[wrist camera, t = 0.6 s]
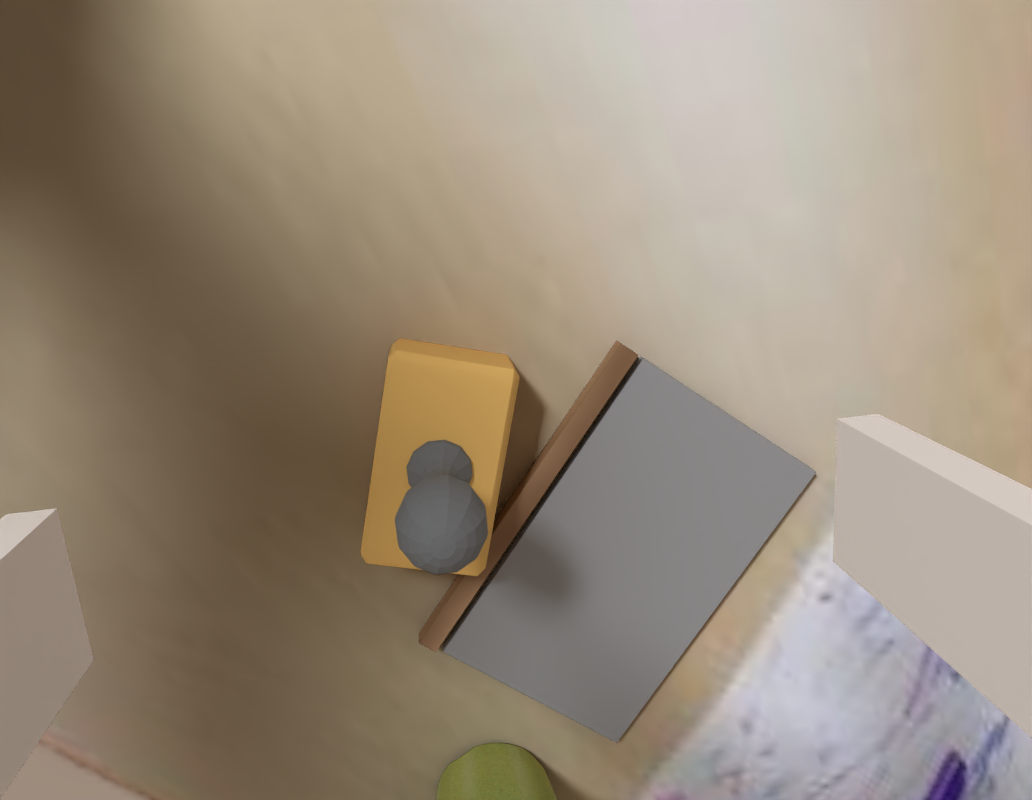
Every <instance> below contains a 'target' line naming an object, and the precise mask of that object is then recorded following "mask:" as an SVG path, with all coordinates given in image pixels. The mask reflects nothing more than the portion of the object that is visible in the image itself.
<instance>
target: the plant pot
mask: <svg viewBox="0 0 1032 800" xmlns="http://www.w3.org/2000/svg"><path fill="white" fill-rule="evenodd" d="M436 800H557V798H556V795H555V793H554V791H553V788H552V786H551V783H550V781H549V779H548V776H547V774H546V772H545V770H544V768H543V767H542V765H541V764H540V763H539V762H538V761H537V760H536V759H535V758H534V757H533V756H532V755H531V754H530V753H529V752H528V751H526V750H525V749H523V748H521V747H518V746H515V745H511V744H506V743H489V744H483V745H479V746H476V747H474V748H472V749H471V750H469V751H468V752H467V753H466V754H464V755H463V756H462V757H460V758H459V759H457V760H455V761H454V762H452V763H450V764H449V765H448V766H447V768H446V769H445V771H444V772H443V774H442V776H441V779H440V781H439V784H438V788H437V795H436Z"/></svg>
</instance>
